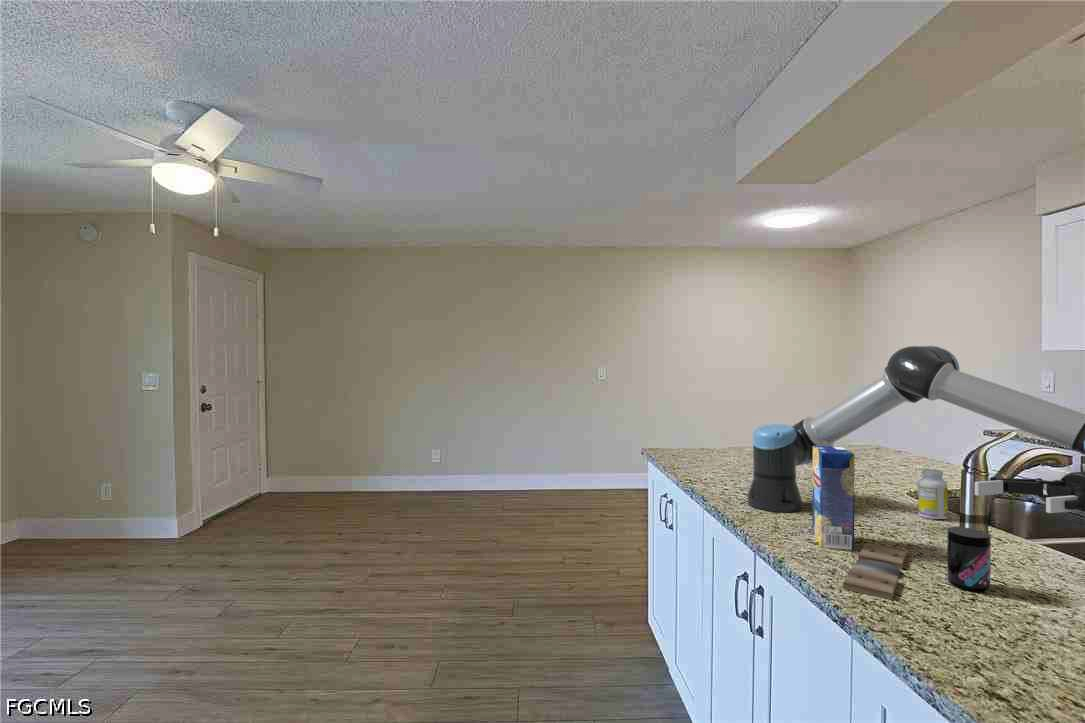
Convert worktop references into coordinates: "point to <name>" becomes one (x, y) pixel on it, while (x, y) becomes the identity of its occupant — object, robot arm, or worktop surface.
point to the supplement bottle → (932, 495)
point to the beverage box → (833, 497)
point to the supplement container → (968, 559)
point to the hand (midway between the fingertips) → (1009, 496)
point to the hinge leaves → (876, 571)
